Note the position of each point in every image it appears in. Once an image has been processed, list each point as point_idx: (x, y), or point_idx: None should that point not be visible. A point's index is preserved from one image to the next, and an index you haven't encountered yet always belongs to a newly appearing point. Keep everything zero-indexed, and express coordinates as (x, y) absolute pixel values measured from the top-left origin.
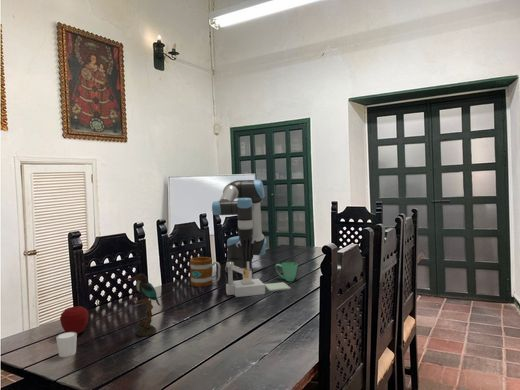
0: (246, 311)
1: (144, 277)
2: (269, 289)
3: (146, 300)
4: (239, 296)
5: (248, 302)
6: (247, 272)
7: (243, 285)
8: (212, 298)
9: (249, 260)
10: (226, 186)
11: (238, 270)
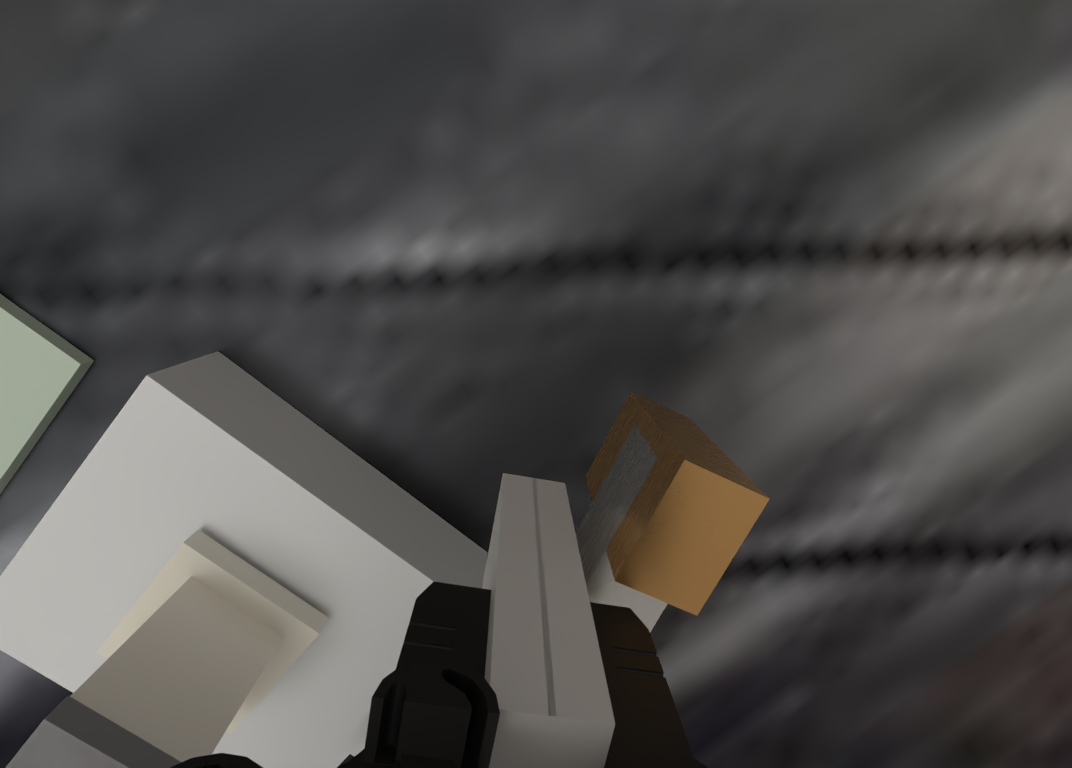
0: (823, 183)
1: None
2: (70, 381)
3: None
4: (459, 533)
5: (566, 340)
6: (688, 441)
7: (347, 598)
8: None
9: (490, 731)
10: None
11: None
